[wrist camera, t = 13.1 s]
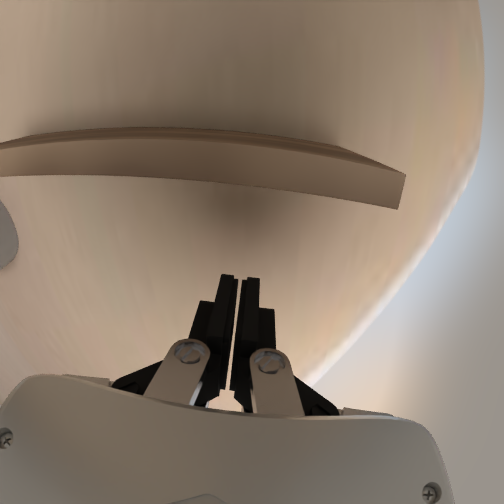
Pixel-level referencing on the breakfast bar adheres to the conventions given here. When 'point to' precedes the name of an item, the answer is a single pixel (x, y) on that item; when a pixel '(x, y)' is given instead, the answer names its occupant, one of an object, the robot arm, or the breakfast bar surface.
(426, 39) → the breakfast bar surface
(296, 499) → the robot arm
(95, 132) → the wooden panel
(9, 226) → the lumpy-topped squat cylinder
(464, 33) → the breakfast bar surface
